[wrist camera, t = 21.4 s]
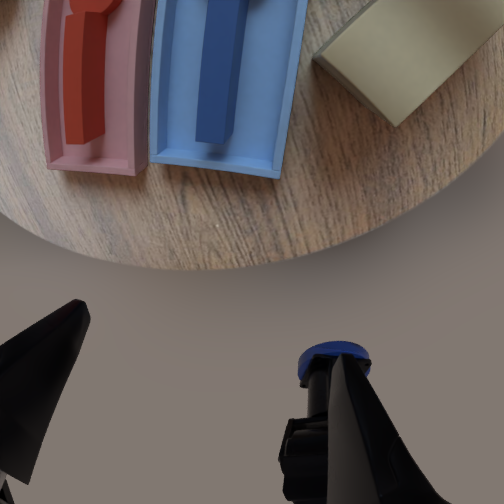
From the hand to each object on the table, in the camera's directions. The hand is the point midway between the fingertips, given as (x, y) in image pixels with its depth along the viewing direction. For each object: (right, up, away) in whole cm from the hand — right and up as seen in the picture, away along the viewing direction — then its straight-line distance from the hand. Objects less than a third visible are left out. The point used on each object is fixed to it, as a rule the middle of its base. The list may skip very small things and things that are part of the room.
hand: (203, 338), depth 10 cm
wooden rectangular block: (+10, +16, +2) cm, 19 cm away
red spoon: (-8, +15, +4) cm, 18 cm away
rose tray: (-8, +15, +5) cm, 18 cm away
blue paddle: (0, +14, +4) cm, 15 cm away
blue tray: (0, +14, +4) cm, 15 cm away
